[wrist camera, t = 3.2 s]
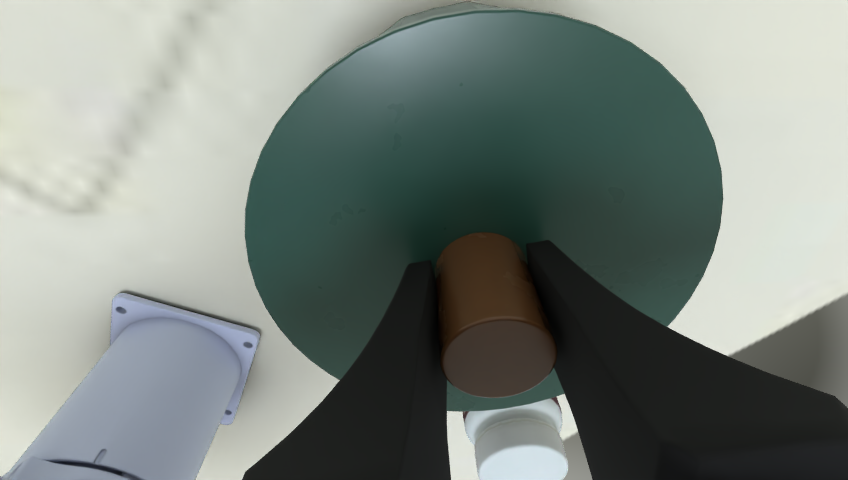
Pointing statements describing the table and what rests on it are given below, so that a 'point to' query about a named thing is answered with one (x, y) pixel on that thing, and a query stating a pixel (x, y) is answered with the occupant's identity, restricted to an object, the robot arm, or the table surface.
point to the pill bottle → (518, 442)
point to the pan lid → (481, 191)
